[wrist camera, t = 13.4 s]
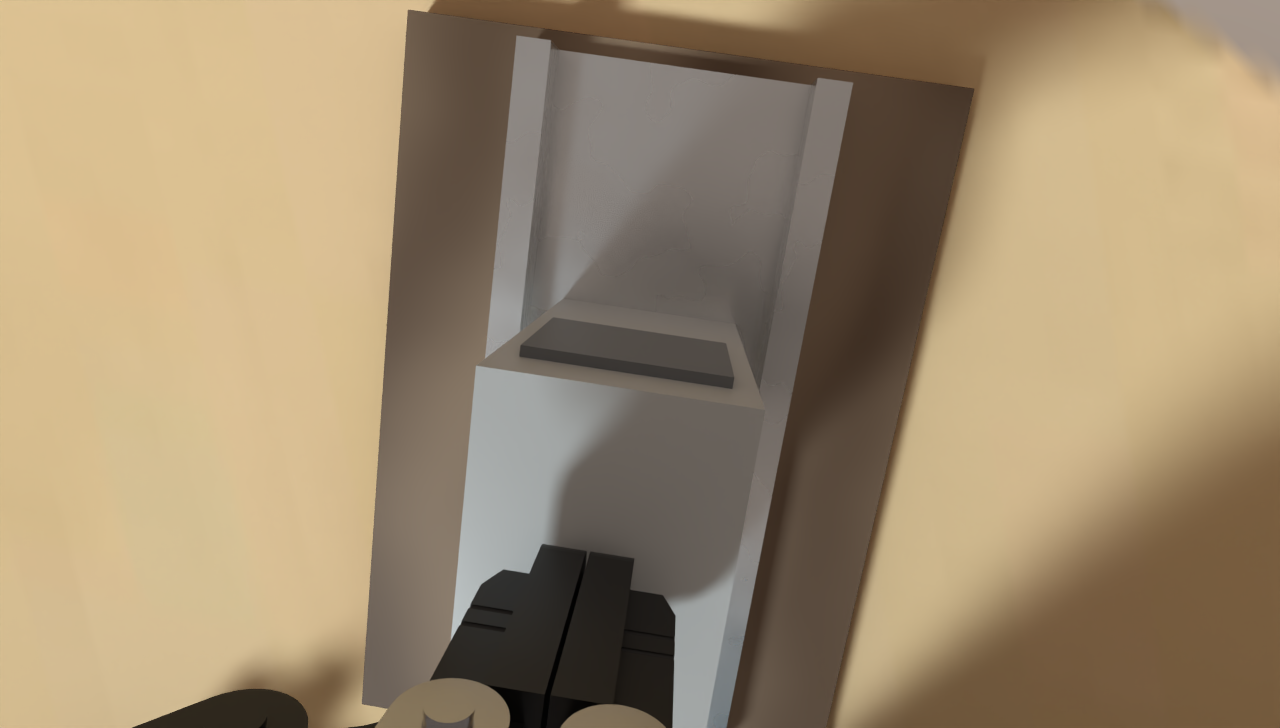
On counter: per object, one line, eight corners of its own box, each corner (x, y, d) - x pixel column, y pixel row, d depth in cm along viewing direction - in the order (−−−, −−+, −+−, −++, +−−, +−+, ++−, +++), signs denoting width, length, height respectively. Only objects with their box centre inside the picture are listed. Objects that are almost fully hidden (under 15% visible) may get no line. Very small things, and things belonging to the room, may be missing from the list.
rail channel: (840, 92, 18) (853, 82, 17) (712, 750, 22) (714, 789, 21) (530, 48, 18) (516, 35, 17) (463, 707, 23) (447, 742, 21)
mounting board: (959, 94, 19) (974, 88, 18) (808, 757, 23) (813, 782, 22) (422, 19, 19) (407, 9, 18) (375, 683, 24) (361, 704, 23)
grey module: (736, 316, 19) (767, 397, 11) (693, 568, 21) (694, 792, 13) (564, 290, 19) (477, 353, 11) (534, 543, 21) (440, 749, 13)
